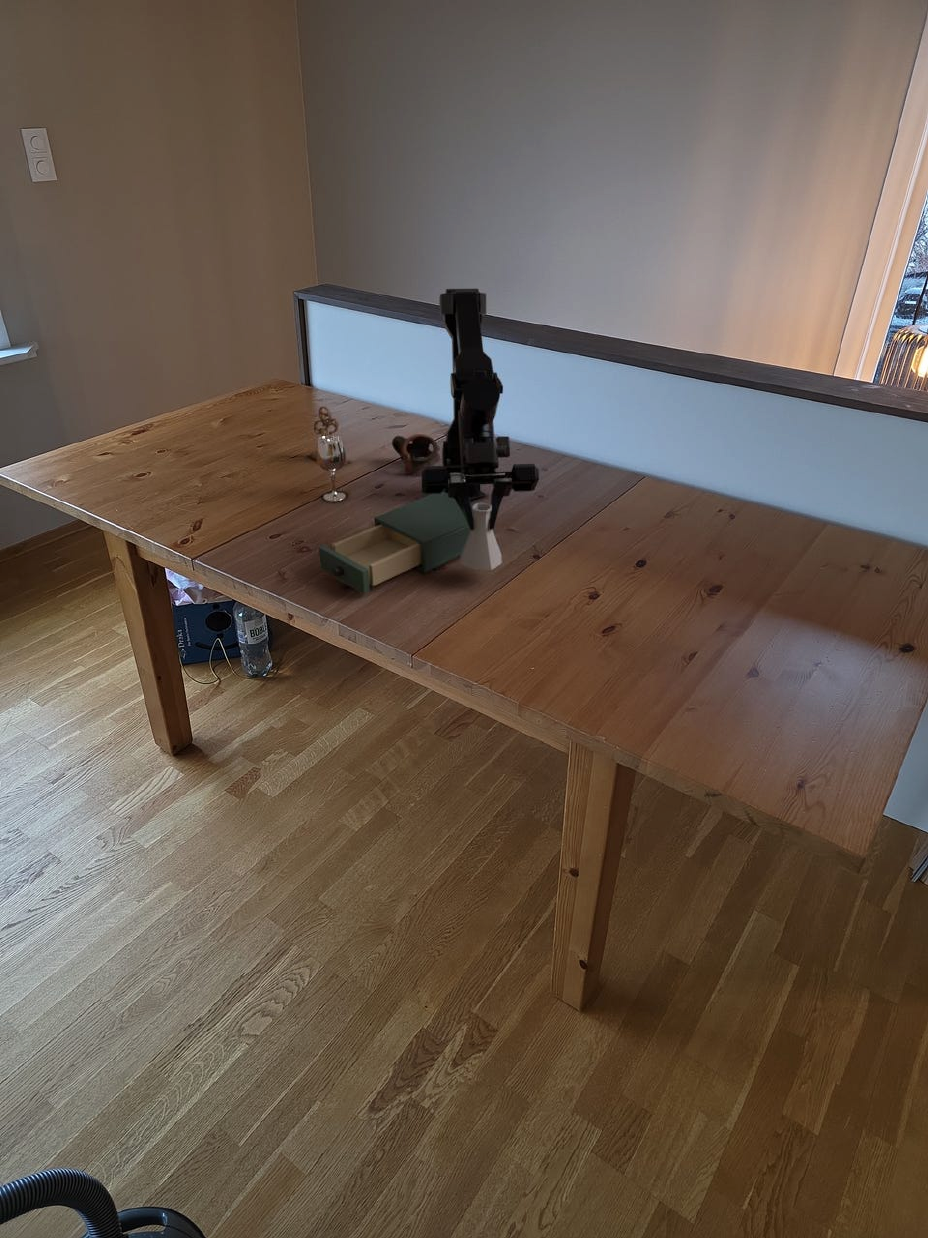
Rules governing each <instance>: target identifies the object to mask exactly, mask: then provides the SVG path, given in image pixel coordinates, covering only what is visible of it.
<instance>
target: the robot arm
mask: <svg viewBox="0 0 928 1238" xmlns="http://www.w3.org/2000/svg"><path fill="white" fill-rule="evenodd" d="M438 302H439V303H438V304H439V305H438V306H439V316H442V321H443V322H442V324H443V327H444V329H445V330H446V333H447V334H448V335H449V337H450V339H451V355H452V356H451V358H452V361H451V362H452V372H451V373H450V380H449V381H450V384H449V385H450V386H449V387H450V396H451V397H452V403H453V405H452V406H453V419H452V421H451V423H450V424H449V426H448V428H447V430H446V432H445V440H443V442H442V449H441V458H442V459H441V460H442V462H441V463H442V465H430V466H425V467H424V468H423V469H422V470H421V477H420V478H421V480H420V481H421V494H424V495H432V494H441V493H442V492H446V493H448V497H449V498H454V499H455V500H456V502H457V504H458V505H459V507H460V508H461V510H462V512H463V514H464V516H465V519H466V521H467V523H468V525H469V528H470V530H471V531H473V529H474V526H473V515H472V509H471V504H472V503H471V502H472V501H474V500H478V499H481V498H485V497H486V494H485V493H484V492H483V491H481V485H492V491H491V495H490V497H491V498H490V504H491V505H492V510H491V514H490V524H491V530H493V531H494V529H495V525H496V521H497V519H498V513H499V510H500V505H501V503H502V501H503V499H504V497H505V498H506V497H509V496H510V495H511V492H512V490H513V491H514V492H515V493H517V492H521V493H522V492H533V491H535V489H536V487H537V486H538V483H539V480H540V472H539V468H538V466H537V465H536V464H535V463H522V464H521V463H514V464H512V468H511V471H497V469H499V466H500V465H499V463H500V462H499V458H500V459H501V458H510V457H511V442H510V441H511V440H510V436H497V437H496V439H495V428H494V427H495V425H494V420H495V418H496V414H497V410H498V406H499V402H500V398H501V395H502V394H504V385H503V383H502V380H501V379H500V378H499V377H498V373H497V372H495V371H494V366H493V360H492V357H490V356H489V355H488V354H487V353H486V352H485V351H484V346H483V345H484V344H483V343H484V342H483V336H482V335H483V334H482V323H483V316H485V315H487V293H486V292H485V293H484V292H480V290H479V288H446V289H445V293H440V294H439V301H438ZM495 440H496V441H495Z"/></svg>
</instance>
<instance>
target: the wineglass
mask: <svg viewBox="0 0 928 1238" xmlns="http://www.w3.org/2000/svg"><path fill="white" fill-rule="evenodd" d="M315 451H316V459H317V460H316V459H315V460H316V463H317V465H318V466H319V468H320V469H321V470H323V471H326V472H328V473H329V472H330V475H329V477H330V481H331V484H332V490H331V491H329V492H327V493H325V494H323V499H324V500H325V501H328V502H339V501H343V500H344V499H346V498H347V497H346V493H344V492H343V491H342V492H341V491H337V490H336V485H335V483H336V482H335V481H336V473H335V472H338V471H340V470H342V469H343V468H344V467H345V465H346V464H345V462H346V458H347V453H346V449H345V445H344V442H343V439H342V437H340V436H337V435H332V436H329V435H328V436H325V435H324V436H323V437H322V436H321V437H319V438H317V441H316V448H315Z"/></svg>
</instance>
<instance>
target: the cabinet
mask: <svg viewBox="0 0 928 1238" xmlns="http://www.w3.org/2000/svg"><path fill="white" fill-rule="evenodd" d="M473 505H474V503H471V509H472V515H473V520H474V512H473ZM490 514H491V512H490ZM373 520H374V527H375V526H377V525H380V524H382V525H384V526H386V527H388V528H390V529H392V530H394V531H396V532H398V533H400V534H402V535H404V536H406V537H408V538H410V539H412V540H414V541H416V542H418V543H420V544H422V545H421V546H422V564H420V565H418V566H415V567H414V568H415V569H416V570H419V571H421V572H423V573H426V572H429V571H431V570H433V569H435V568H438V567H439V566H441V565H444V564H446V563H448V562H450V561H452V560H454V559H456V558H458V557H460V555H461V553H462V550H463V548H464V546H465V543H466V541H467V539H468V536H469V533H470V531H471V530H470V528H469V525H468V523H467V521H466V519H465V516H464V514H463V512H462V510H461V508H460V507H459V505H458V504H457V502H456V500H455V499H454V498H449V497H448V493H446V492H442V493H441V494H428V495H426V496H424V497H421V498H419V499H417V500H414V501H412V502H409V503H407V504H404V505H402V506H399V507H397V508H395V509H392V510H389V511H387V512H384V513H381V514H380V515H377V516H374V519H373Z"/></svg>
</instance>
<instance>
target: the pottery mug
mask: <svg viewBox="0 0 928 1238" xmlns="http://www.w3.org/2000/svg"><path fill="white" fill-rule="evenodd" d="M437 443H438V442H437V441H435V439H433V437H432V436H429V435H427V434H423V433H422V434H421V433H420V434H419V433H416V434H412V435H410V436H408V437H404V436H401V435H397V436H394V437H393V439H392V441H391V445H392V448H393V449H394V450H395V452H396V453H397V454H398V455H399V457H400V460H401V461H404V462H405V464H404V467H403V470H404V472H405V473H406V474H407V475H411V474H412V473H413V472H419V471H422V469H423V468H424V467H425V466H435V464H436V462H438V461H441V460H442V459H441V458H442V457H441V456H440V454H439V451H440V450H441V448H440V446H439V445H438V444H437ZM431 445H432V449H430V446H431Z"/></svg>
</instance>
